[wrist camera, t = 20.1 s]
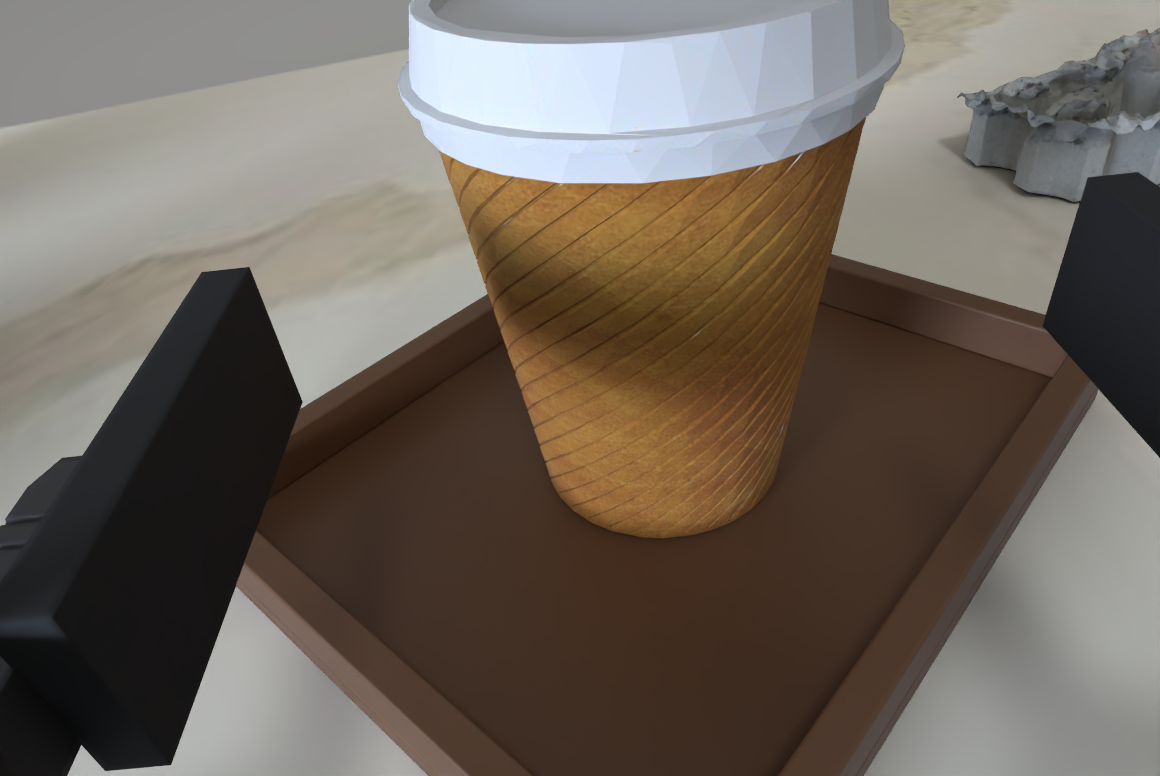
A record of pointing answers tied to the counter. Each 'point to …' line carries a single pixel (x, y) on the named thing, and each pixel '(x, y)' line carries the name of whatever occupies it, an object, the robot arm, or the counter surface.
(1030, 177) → the egg carton
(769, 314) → the disposable coffee cup
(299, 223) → the counter surface
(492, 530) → the serving tray
